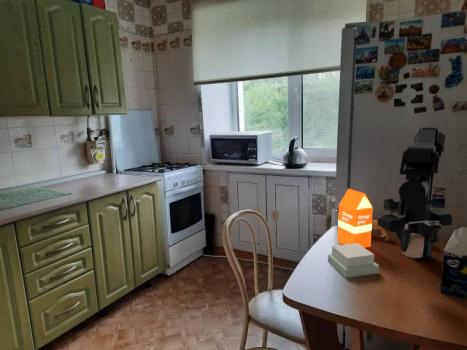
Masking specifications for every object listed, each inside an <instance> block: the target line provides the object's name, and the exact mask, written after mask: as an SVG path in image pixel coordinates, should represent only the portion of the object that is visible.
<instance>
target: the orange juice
mask: <svg viewBox="0 0 467 350" xmlns="http://www.w3.org/2000/svg"><path fill="white" fill-rule="evenodd" d="M373 210H374V209H373V206H372V204H371V202H370V200H369V199H368V196H367V195H366V193H364V192H360V191H357V190H354V189H351V188H347V189H346V192H345V194H344V196H343V197H342V199H341V201H340V202H339V204H338V218H337V219H338V221H337V222H338V223H337V226H338V227H337V242H338V243H340V245H347V244H356V243H358V244H359V245H361V246H362V247H364V248H365V249H366V248H370V247H371V246H372V245H371V243H372V242H371V241H372V230H373V229H372V218H373Z"/></svg>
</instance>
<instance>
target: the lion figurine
mask: <svg viewBox="0 0 467 350" xmlns="http://www.w3.org/2000/svg"><path fill="white" fill-rule="evenodd" d="M377 224H378V219H374V218H373V217H372V230H380V232H381V233H382V234H381V235H380V237H382V238H384V237H385V238H384V241H386V242H388V241H389V240H390V238H391V240H396V238H395V237H393V236H392V234H391V233H392V232H390V231H388V230H386V229H384V228H382V227H380V226H379V225H377ZM387 231H388V232H387Z"/></svg>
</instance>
